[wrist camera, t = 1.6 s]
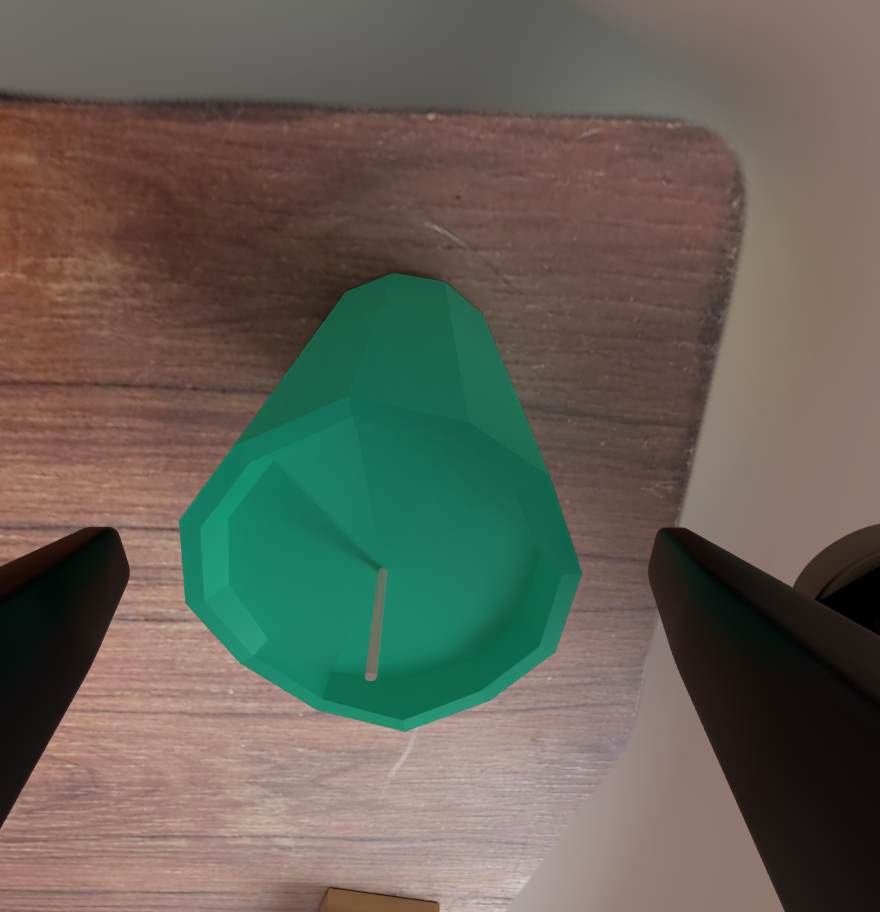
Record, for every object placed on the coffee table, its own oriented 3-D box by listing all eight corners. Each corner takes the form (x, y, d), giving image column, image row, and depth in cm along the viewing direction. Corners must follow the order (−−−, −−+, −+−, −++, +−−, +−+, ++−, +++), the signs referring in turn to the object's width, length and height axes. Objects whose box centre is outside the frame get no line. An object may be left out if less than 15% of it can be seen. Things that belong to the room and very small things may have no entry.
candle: (502, 443, 19) (602, 800, 8) (331, 459, 19) (203, 831, 8) (493, 262, 16) (633, 435, 5) (293, 282, 16) (22, 492, 5)
